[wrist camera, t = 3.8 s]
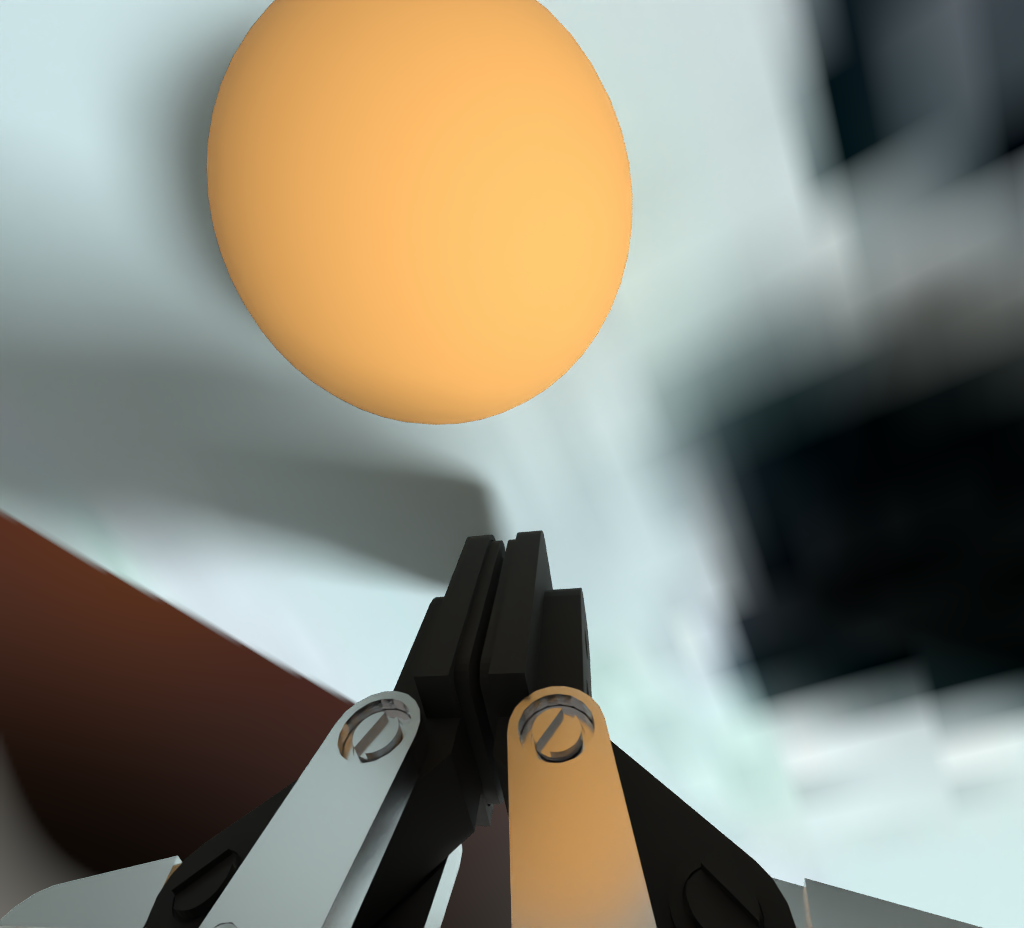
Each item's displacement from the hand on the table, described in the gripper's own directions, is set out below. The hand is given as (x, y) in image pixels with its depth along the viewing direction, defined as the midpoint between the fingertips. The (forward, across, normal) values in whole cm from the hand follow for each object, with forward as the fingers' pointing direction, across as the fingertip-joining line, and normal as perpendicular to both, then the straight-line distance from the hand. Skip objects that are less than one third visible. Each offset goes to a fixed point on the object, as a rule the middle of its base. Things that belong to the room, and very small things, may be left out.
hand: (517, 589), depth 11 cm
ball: (-1, 0, -7) cm, 7 cm away
